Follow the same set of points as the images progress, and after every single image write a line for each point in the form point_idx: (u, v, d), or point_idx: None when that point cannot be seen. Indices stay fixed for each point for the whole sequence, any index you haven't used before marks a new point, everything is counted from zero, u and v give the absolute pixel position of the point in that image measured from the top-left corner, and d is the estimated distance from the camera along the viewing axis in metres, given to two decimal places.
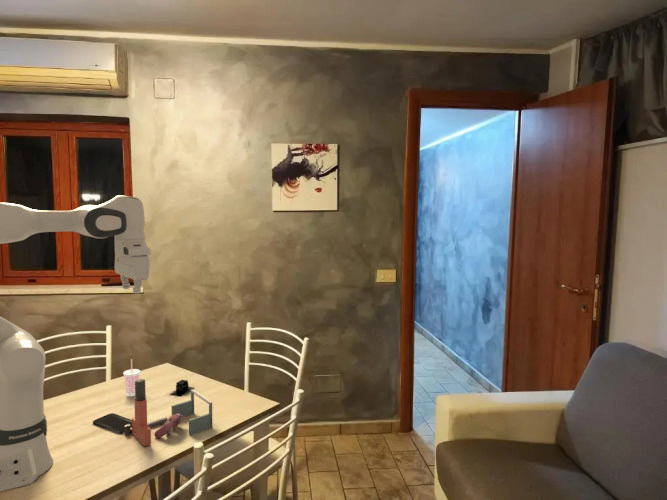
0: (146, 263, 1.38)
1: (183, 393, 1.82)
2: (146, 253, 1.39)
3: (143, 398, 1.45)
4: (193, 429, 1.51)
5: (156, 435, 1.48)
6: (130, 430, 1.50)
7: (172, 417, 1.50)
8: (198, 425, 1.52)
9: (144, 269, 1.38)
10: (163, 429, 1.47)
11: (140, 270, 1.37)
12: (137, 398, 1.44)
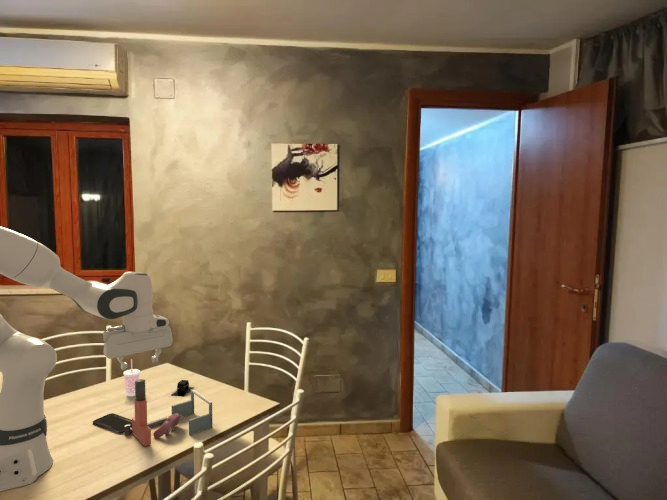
0: None
1: (185, 393, 1.82)
2: None
3: (143, 398, 1.45)
4: (193, 429, 1.51)
5: (155, 434, 1.48)
6: (130, 430, 1.50)
7: (171, 417, 1.50)
8: (198, 425, 1.52)
9: None
10: (162, 429, 1.47)
11: None
12: (137, 398, 1.44)
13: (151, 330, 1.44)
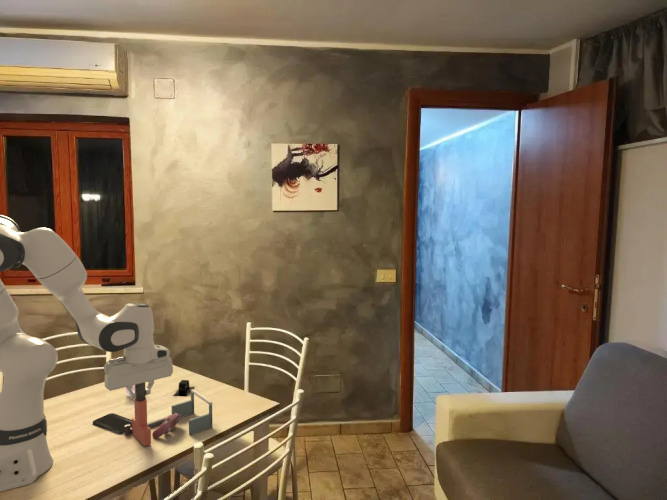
0: None
1: (187, 393, 1.83)
2: None
3: (143, 398, 1.45)
4: (193, 429, 1.51)
5: (154, 434, 1.48)
6: (130, 430, 1.50)
7: (170, 417, 1.50)
8: (198, 425, 1.52)
9: None
10: (161, 429, 1.47)
11: None
12: (137, 398, 1.44)
13: (152, 361, 1.45)
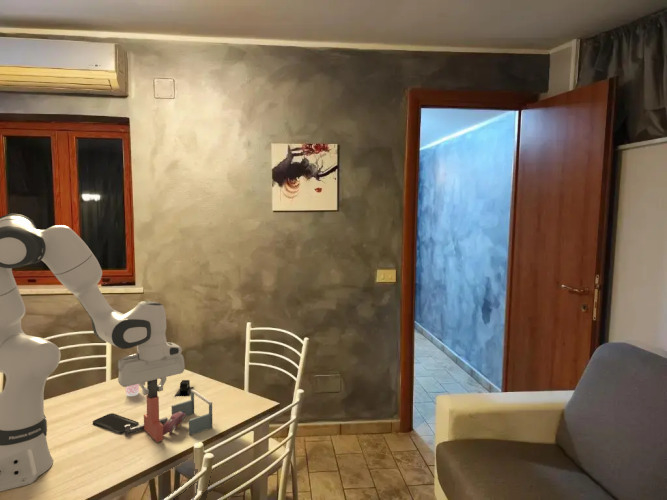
0: None
1: (188, 392, 1.83)
2: None
3: (155, 395, 1.47)
4: (193, 429, 1.51)
5: None
6: (130, 430, 1.50)
7: (174, 415, 1.52)
8: (198, 425, 1.52)
9: None
10: (165, 427, 1.48)
11: None
12: (149, 395, 1.46)
13: (164, 358, 1.47)
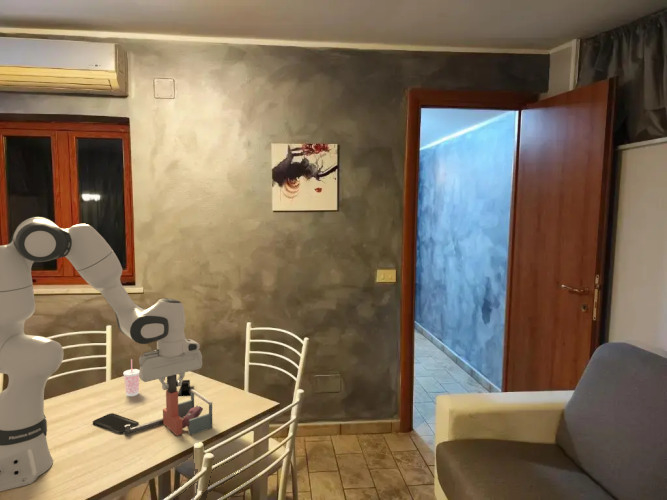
0: None
1: (190, 392, 1.83)
2: None
3: (174, 390, 1.51)
4: (193, 429, 1.51)
5: None
6: (130, 430, 1.50)
7: (193, 409, 1.56)
8: (198, 425, 1.52)
9: None
10: (185, 421, 1.53)
11: None
12: (169, 390, 1.51)
13: (183, 354, 1.51)
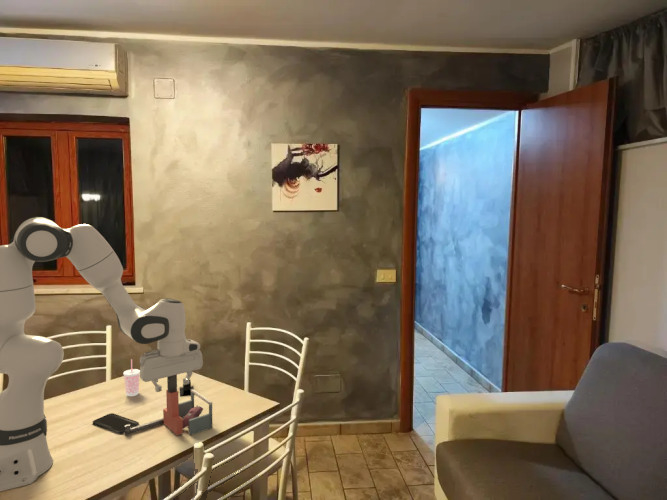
0: None
1: None
2: None
3: (175, 389, 1.52)
4: (193, 429, 1.51)
5: None
6: (130, 430, 1.50)
7: (193, 409, 1.56)
8: (198, 425, 1.52)
9: None
10: (185, 421, 1.53)
11: None
12: (169, 389, 1.51)
13: (184, 354, 1.52)
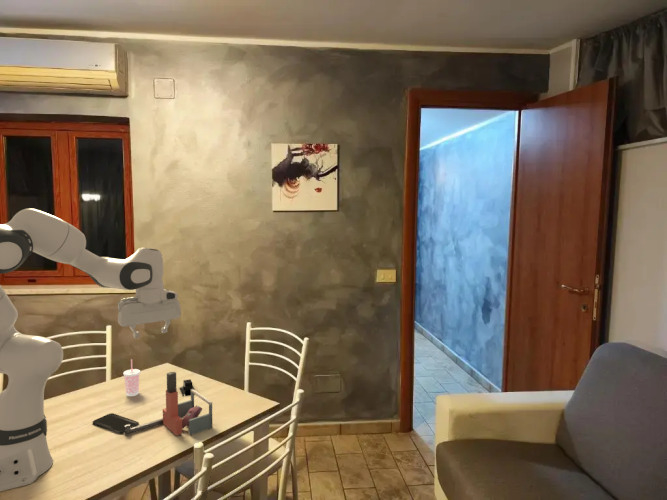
0: None
1: None
2: None
3: (174, 390, 1.51)
4: (193, 429, 1.51)
5: None
6: (130, 430, 1.50)
7: (192, 409, 1.56)
8: (198, 425, 1.52)
9: None
10: (184, 421, 1.53)
11: None
12: (169, 390, 1.51)
13: (161, 302, 1.56)
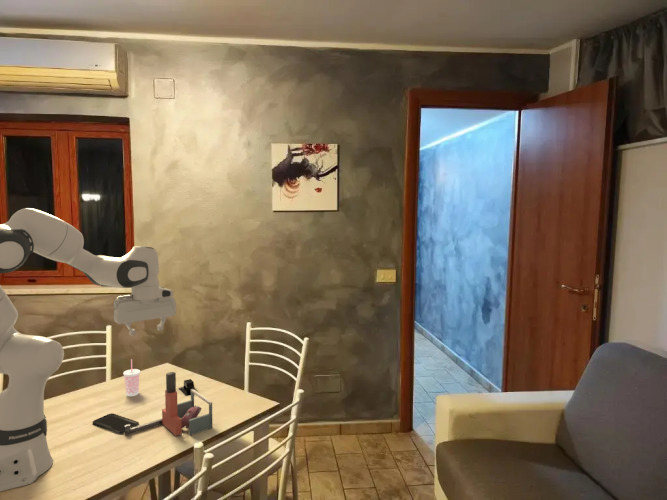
0: None
1: (195, 390, 1.85)
2: None
3: (174, 390, 1.51)
4: (193, 429, 1.51)
5: None
6: (130, 430, 1.50)
7: (191, 409, 1.56)
8: (198, 425, 1.52)
9: None
10: (183, 421, 1.53)
11: None
12: (168, 390, 1.51)
13: (157, 300, 1.57)
